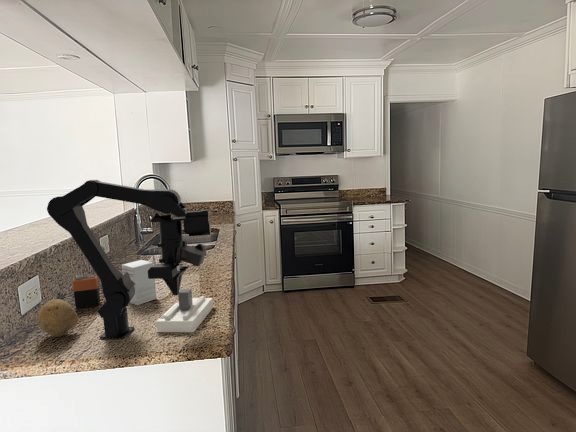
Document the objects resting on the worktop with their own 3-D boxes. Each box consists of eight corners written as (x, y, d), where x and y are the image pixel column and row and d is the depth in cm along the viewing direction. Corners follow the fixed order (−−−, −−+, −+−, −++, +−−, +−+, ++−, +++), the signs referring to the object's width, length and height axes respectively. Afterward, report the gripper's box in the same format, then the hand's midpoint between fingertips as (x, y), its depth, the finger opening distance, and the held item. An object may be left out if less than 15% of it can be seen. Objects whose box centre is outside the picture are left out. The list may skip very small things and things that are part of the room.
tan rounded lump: (32, 338, 107) (27, 302, 106) (66, 326, 114) (62, 292, 113) (50, 345, 102) (45, 307, 101) (84, 332, 109) (80, 297, 108)
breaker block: (193, 332, 106) (192, 317, 106) (157, 332, 107) (155, 317, 107) (213, 307, 124) (212, 294, 123) (181, 307, 125) (180, 295, 124)
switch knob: (189, 309, 113) (187, 292, 113) (179, 309, 114) (178, 292, 113) (192, 305, 116) (191, 289, 116) (183, 305, 117) (181, 289, 116)
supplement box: (145, 295, 139) (141, 259, 137) (157, 299, 134) (153, 262, 132) (124, 301, 133) (120, 264, 131) (136, 305, 128) (132, 267, 127)
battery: (78, 304, 133) (74, 274, 131) (100, 301, 135) (97, 272, 133) (75, 309, 128) (71, 278, 127) (98, 305, 130) (95, 275, 129)
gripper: (188, 244, 96) (193, 307, 98) (211, 230, 115) (215, 284, 117) (144, 245, 97) (149, 307, 100) (173, 231, 116) (177, 284, 118)
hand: (176, 295), depth 108 cm, fingers closed
